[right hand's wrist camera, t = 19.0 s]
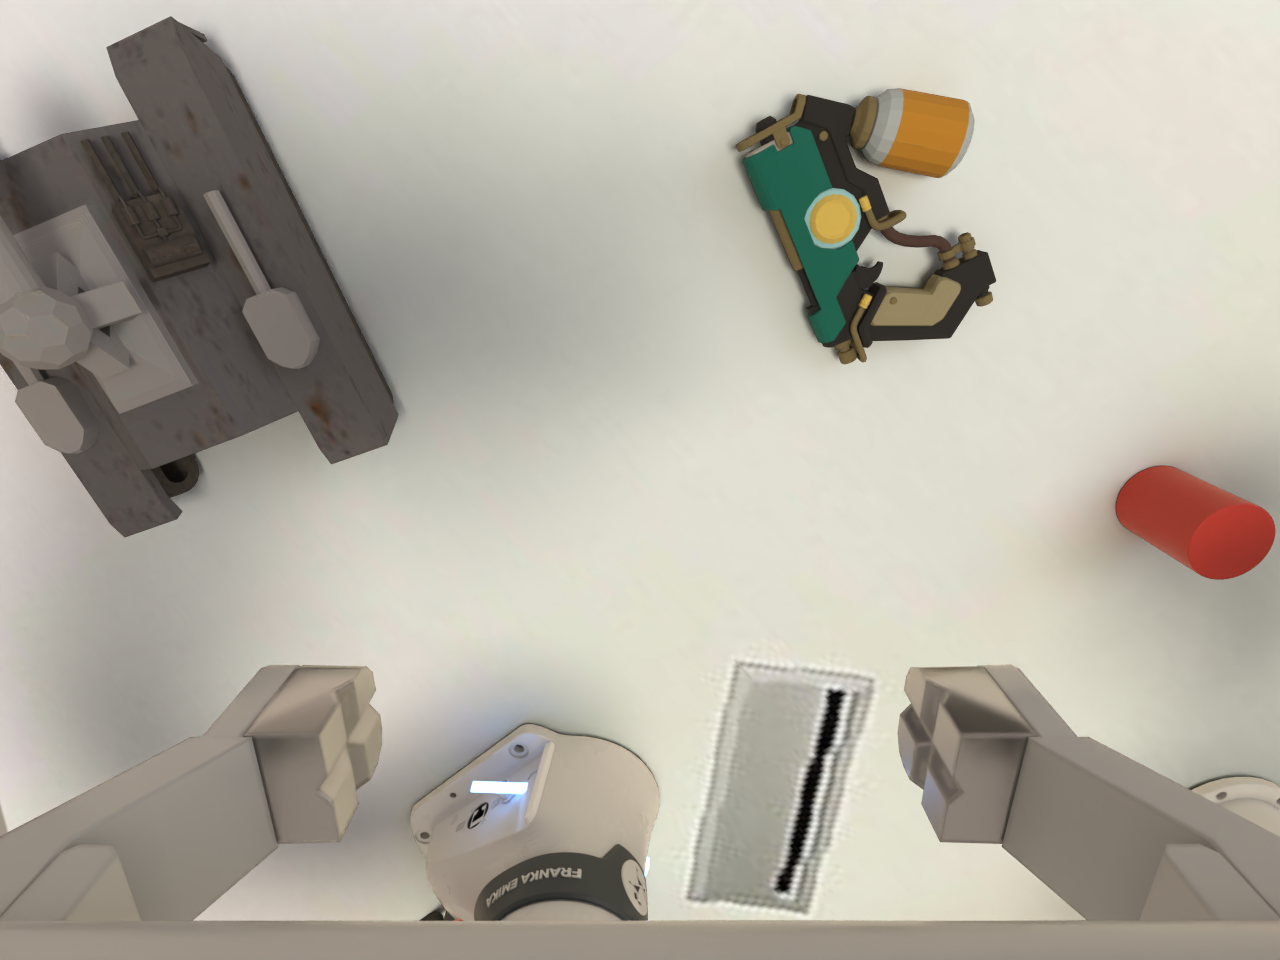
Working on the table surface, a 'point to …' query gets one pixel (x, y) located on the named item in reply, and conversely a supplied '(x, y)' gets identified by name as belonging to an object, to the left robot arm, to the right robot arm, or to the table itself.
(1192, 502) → the canister
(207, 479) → the table surface
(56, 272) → the toy
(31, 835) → the right robot arm
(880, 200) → the spray gun
